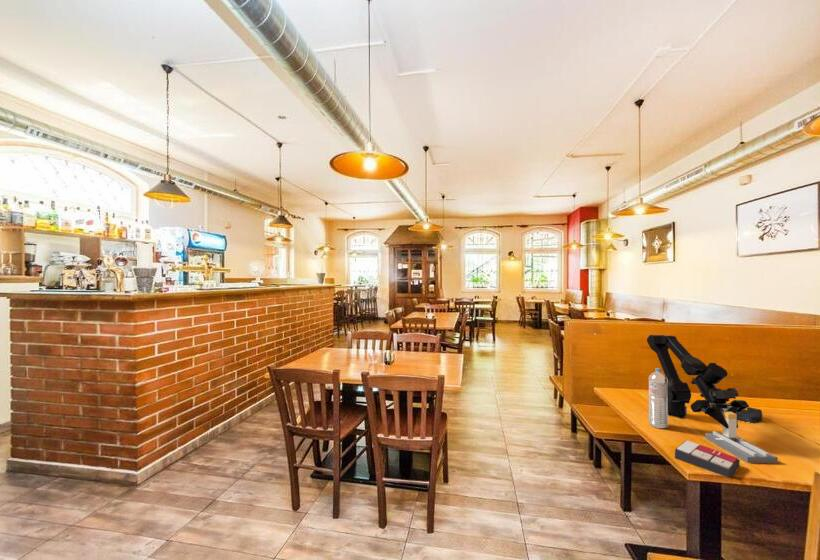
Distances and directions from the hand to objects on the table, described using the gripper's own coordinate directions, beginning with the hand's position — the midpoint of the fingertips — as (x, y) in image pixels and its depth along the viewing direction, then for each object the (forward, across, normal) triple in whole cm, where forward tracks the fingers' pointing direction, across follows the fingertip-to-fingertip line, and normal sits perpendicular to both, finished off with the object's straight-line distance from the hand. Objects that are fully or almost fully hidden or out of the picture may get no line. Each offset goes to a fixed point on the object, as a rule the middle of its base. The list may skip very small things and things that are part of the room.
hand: (732, 427), depth 130 cm
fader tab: (+3, 0, +4) cm, 5 cm away
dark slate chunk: (-17, +26, +28) cm, 42 cm away
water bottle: (-7, -16, +18) cm, 25 cm away
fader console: (+7, 0, +3) cm, 8 cm away
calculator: (+14, -19, -3) cm, 24 cm away
